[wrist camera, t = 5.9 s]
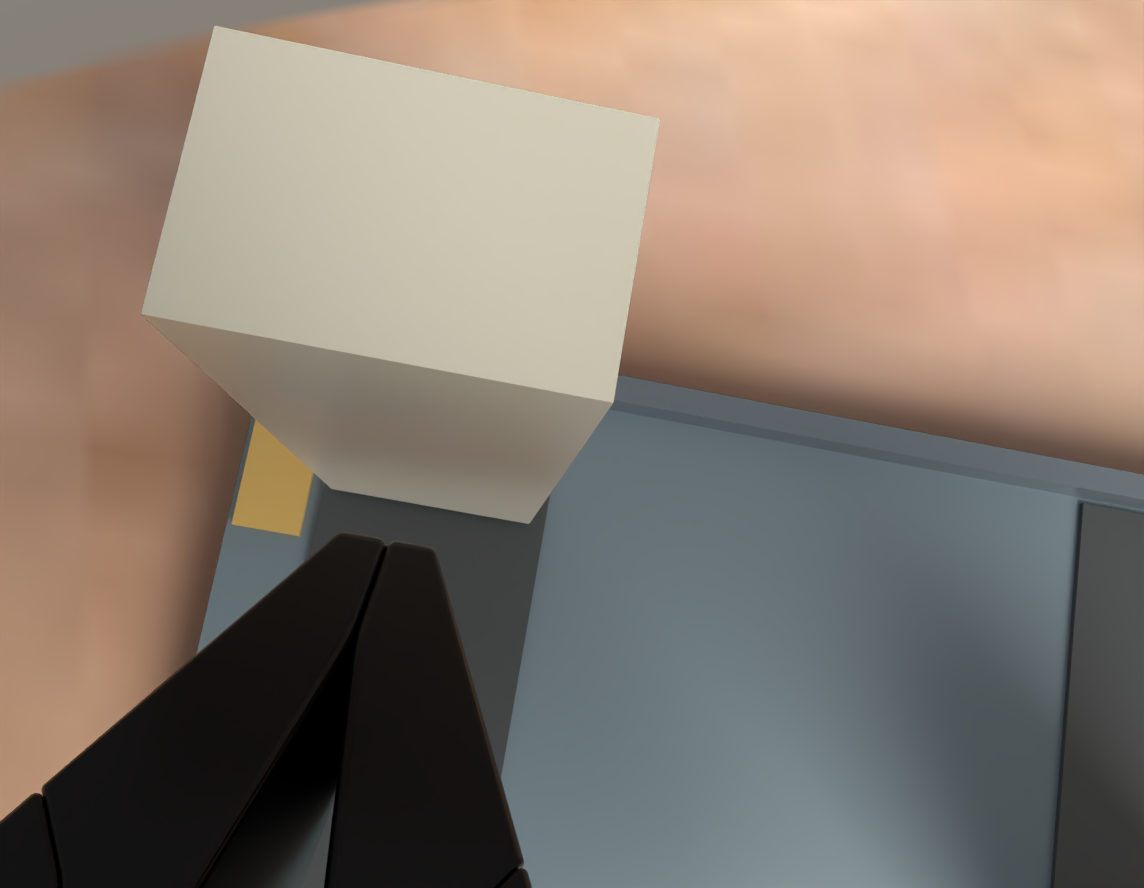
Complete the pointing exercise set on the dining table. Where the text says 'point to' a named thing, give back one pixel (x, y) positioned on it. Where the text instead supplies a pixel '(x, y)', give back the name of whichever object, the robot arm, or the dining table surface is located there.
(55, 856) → the robot arm
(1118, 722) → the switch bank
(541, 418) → the beige rectangular block
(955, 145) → the dining table surface
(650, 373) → the dining table surface
